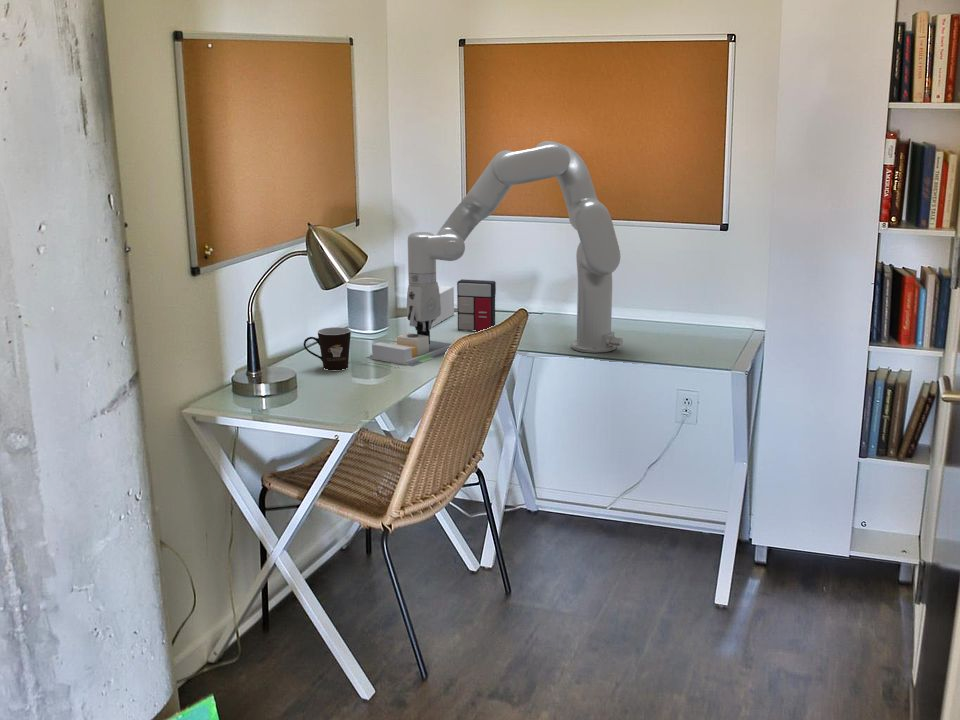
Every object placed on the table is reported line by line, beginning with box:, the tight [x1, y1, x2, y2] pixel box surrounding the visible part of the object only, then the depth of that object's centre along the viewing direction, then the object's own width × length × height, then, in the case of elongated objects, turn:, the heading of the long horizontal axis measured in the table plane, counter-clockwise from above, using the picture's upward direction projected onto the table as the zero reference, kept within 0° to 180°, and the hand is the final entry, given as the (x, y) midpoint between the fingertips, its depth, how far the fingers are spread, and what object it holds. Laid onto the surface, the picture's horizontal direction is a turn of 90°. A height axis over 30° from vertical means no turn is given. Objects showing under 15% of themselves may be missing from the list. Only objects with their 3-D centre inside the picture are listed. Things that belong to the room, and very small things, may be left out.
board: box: [365, 339, 452, 369], centre depth 292 cm, size 25×16×5 cm, turn 146°
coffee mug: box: [303, 326, 352, 371], centre depth 281 cm, size 12×9×10 cm
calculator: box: [456, 278, 497, 332], centre depth 320 cm, size 11×4×15 cm, turn 73°
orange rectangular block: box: [393, 343, 417, 358], centre depth 287 cm, size 2×8×3 cm, turn 56°
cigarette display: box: [431, 285, 455, 327], centre depth 334 cm, size 20×6×9 cm, turn 161°
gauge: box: [396, 332, 429, 356], centre depth 291 cm, size 5×7×5 cm
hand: (423, 344), depth 295 cm, fingers closed
